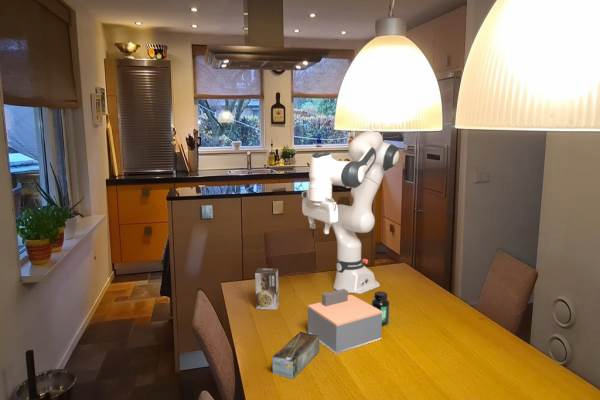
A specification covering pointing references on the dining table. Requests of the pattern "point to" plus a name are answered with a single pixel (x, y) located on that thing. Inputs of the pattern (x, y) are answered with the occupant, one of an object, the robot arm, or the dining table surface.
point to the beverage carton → (295, 355)
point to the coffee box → (267, 288)
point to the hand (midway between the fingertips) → (319, 230)
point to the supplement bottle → (382, 305)
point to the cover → (343, 308)
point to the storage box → (344, 332)
